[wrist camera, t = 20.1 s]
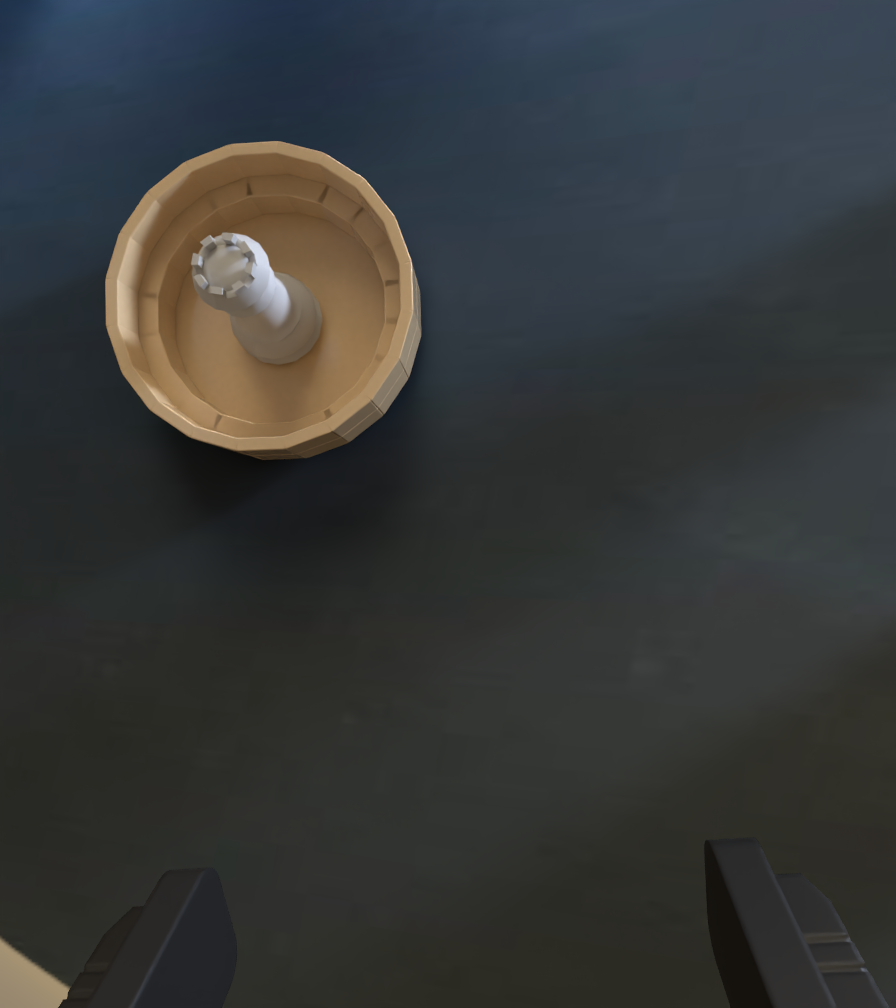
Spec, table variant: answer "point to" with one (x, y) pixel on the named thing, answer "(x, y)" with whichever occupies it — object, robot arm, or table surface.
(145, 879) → the table surface
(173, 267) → the bowl
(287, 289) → the rook chess piece
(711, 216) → the table surface
